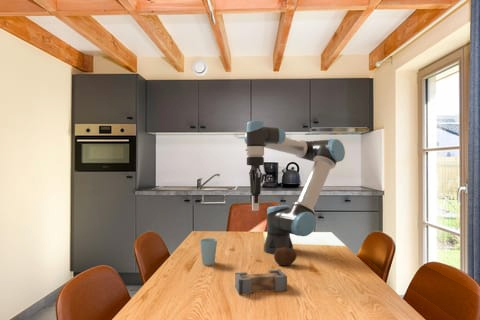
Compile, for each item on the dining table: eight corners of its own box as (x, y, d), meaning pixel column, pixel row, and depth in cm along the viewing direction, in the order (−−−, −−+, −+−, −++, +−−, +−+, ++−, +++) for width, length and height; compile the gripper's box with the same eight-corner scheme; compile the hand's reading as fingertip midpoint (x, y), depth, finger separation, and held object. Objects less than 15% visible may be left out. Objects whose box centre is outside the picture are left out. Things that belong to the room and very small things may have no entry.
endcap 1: (239, 294, 106) (239, 280, 106) (235, 286, 113) (235, 272, 114) (251, 293, 107) (251, 279, 107) (246, 285, 114) (246, 271, 114)
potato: (273, 262, 141) (273, 245, 142) (295, 262, 141) (295, 245, 141) (275, 267, 134) (275, 249, 134) (298, 268, 134) (297, 249, 134)
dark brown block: (276, 286, 114) (276, 272, 114) (279, 290, 111) (279, 276, 111) (240, 288, 112) (240, 274, 112) (242, 292, 109) (242, 278, 109)
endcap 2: (280, 282, 117) (280, 269, 117) (287, 290, 110) (287, 276, 110) (269, 283, 116) (269, 270, 116) (275, 291, 109) (275, 277, 109)
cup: (219, 264, 139) (219, 241, 139) (202, 267, 135) (202, 243, 136) (213, 260, 145) (213, 237, 146) (197, 262, 142) (197, 239, 143)
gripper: (243, 156, 142) (243, 208, 142) (250, 155, 130) (250, 212, 129) (259, 156, 144) (259, 208, 144) (267, 156, 131) (268, 212, 131)
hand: (255, 210), depth 136 cm, fingers closed
